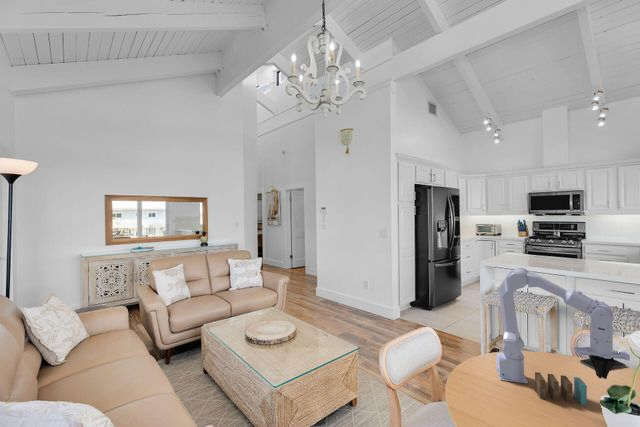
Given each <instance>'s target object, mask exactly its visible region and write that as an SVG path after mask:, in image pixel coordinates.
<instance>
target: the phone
mask: <svg viewBox="0 0 640 427" xmlns="http://www.w3.org/2000/svg"><path fill="white" fill-rule="evenodd" d="M614 360H615V361H616V363H615V365H614V366H613V367H612V368H611V369H610V371H612V370H619V369H622V368H623V369H624V368H626V367H627V364H626V363H624V362H622V361H619V360H617V359H614ZM579 362H580V363H581V365H584V366H585V367H588V368H590V369H592V370H594V371H595V368H594V366H593V363H592V361H591V360H590V358H586V359H581V360H579Z"/></svg>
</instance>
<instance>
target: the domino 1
mask: <svg viewBox="0 0 640 427" xmlns="http://www.w3.org/2000/svg"><path fill="white" fill-rule="evenodd" d="M534 390H535V392H536V394H537V396H538V398H539V399H540V400H546V379H545V377H543V375H542V373H541V372H538V371H537V372H536V371H535V372H534Z"/></svg>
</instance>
